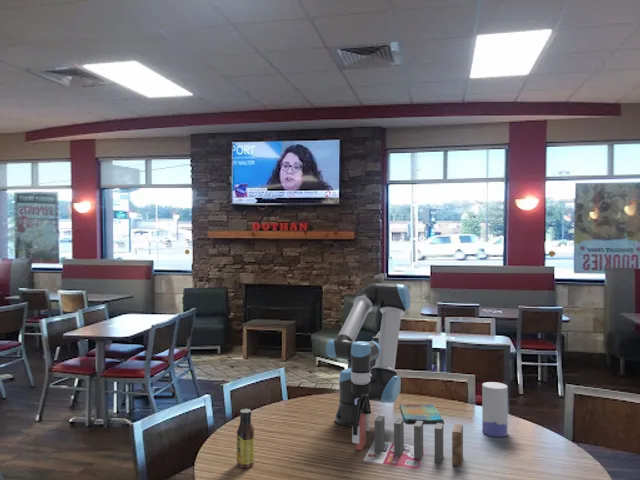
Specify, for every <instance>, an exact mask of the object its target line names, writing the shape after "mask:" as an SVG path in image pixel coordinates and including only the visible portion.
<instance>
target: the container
mask: <svg viewBox="0 0 640 480" xmlns="http://www.w3.org/2000/svg"><path fill="white" fill-rule="evenodd" d="M481 385H482V391H481V393H482V394H481V395H482V397H481V401H482V403H481V404H482V408H481V409H482V413H481V414H482V419H481V420H482V421H481V422H482V426H481V427H482V433H484V434H485V435H487V436H490V437H498V438H499V437H501V438H503V437H507V435H508V425H509V424H508V422H509V421H508V419H509V418H508V416H509V415H508V414H509V413H508V412H509V410H508V409H509V408H508V407H509V406H508V405H509V404H508V399H509V398H508V394H509V393H508V392H509V391H508V385H507V384H505V383H501V382H496V381H486V382H483V383H482V384H481Z"/></svg>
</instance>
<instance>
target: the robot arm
mask: <svg viewBox="0 0 640 480" xmlns="http://www.w3.org/2000/svg"><path fill="white" fill-rule="evenodd" d="M352 303H353V306H352V307H351V310H350V312H349V314H348V315H347V317H346V319H345V321H344V323H343V325H342V327H341V329H340V331H339V333H338V334H337V337H336V338H335V339H329V340H327V342H326V346H325V352H326V355H327V356H328V357H329V358H333V359H339V360H351V361H350V364H351V365H350V366H351V367H349V368H348V367H347V368H345V369H343V370H341V371H340V373H339V379H338V383H339V385H338V387H339V388H338V389H339V391H338V392H339V394H338V395H339V403H338V407H337V410H336V413H335V422H336V423H337V424H338V425H340V426H344V427H351V428H352V429H351V430H352V431H351V435H352V436H351V441H352V442H351V443H353V444H356V443H358V444H359V443H360V426H359V421H360V415H361V413H362V414H366V432H369V431H370V415H371V414H372V410H371V403H370V402H371V401H373V402H380V403H383V404H387V403H388V404H391V403H394V402H395V401H397V398H398V397H399V394H400V391H401V385H402V384H401V383H402V382H401V377H400V376H399V375H398V371H397V370H396V369H395V367H396V358H397V352H398V351H397V350H398V345H399V334H400V327H401V319H402V317H403V316H404V315H406V310H410V308H411V295H410V291H409V287H408V286H407V285H406V284H401V283H379V282H377V283H376V282H375V283H371V284H369V285H367V286H365V287H364V288H362V289H361V290H360V291H359V292H358V293H357V294H356V296H355V297H354V299H353V302H352ZM375 308H376V309H379V311H380V313H381V314H382V315H381V322H380V323H381V324H380V327H379V328H380V330H379V337H378V342H377V341H375V340H370V341H364V340H363V341H361V340H358V341H356V339H357V336H358V335H359V333H360V331H361V329H362V326H363V324H364V322H365V320H366V319H367V317H368V313H370V312H372V310H373V309H375ZM374 361H375V364H374V366H372V367H371V363H372V362H374Z"/></svg>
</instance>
